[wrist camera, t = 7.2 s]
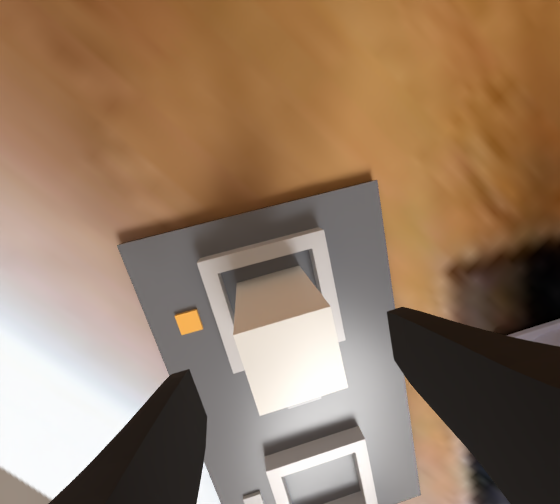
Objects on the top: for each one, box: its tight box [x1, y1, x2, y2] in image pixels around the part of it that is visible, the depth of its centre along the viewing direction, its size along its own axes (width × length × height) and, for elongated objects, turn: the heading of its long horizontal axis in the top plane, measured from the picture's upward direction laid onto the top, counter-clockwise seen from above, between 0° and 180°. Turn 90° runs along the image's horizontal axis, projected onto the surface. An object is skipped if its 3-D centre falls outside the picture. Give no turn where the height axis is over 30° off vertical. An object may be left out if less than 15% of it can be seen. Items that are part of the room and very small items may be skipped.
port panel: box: [117, 180, 421, 504], centre depth 16 cm, size 14×24×2 cm, turn 13°
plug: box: [233, 266, 348, 416], centre depth 12 cm, size 4×4×6 cm
